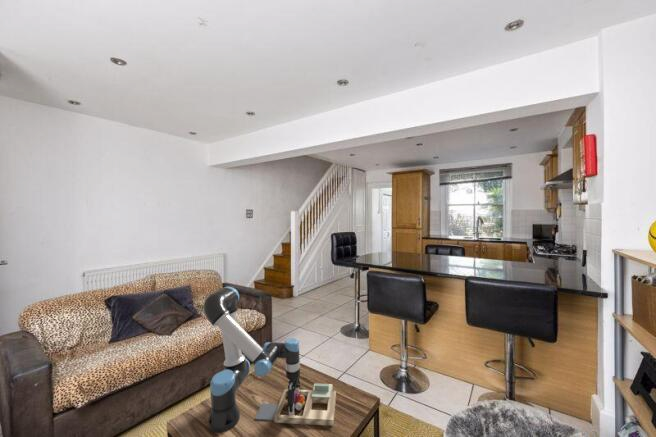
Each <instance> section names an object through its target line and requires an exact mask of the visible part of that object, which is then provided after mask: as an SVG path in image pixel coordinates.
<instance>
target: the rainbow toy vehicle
mask: <svg viewBox="0 0 656 437" xmlns="http://www.w3.org/2000/svg"><path fill="white" fill-rule="evenodd" d="M300 394H301V393H299V394H298V396H297V393H296V392H294V402H293V404H294V409H295V410H297V411H301V410H302V409H303V407H305V405H306V398H305V397H304V396H303V395H300ZM287 409H289V407H287Z"/></svg>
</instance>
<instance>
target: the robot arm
mask: <svg viewBox="0 0 656 437" xmlns="http://www.w3.org/2000/svg"><path fill="white" fill-rule="evenodd" d="M239 301H240V294H239V291H238V290H237V289H236V288H234V287H233V286H225V287H222V288H220V289H219V290H217V291H214V292H213V293H211V294H209V295H208V296H207V297H206V299H204V302H203V308H202V309H203V313H204V315H205V317H206V319H207V320H208V321H209V323H210V324H211V325H212V326H213V327H218V329H219V330H220V332H221V338H222V344H223V350H224V357H225V360H224V361H223V369H222V370H221V371H218V372H217V373H215V374H214V375H213V376H212V378H211V380H210V385H209V386H210V387H209V390H210V405H211V410H210V413H209V417H208V420H207V422H208V425H207V426H208V429H209V430H210V431H212V432H214V433H223V432H227V431H229V430H231V429H232V428H234V427H235V426H236V425H237V424H238V423H239V421H240V418H241V414H240V413H241V412H240V409H239V406H238V404H237V399H236V398H237V397H236V392H237V391H238V389H239V388H240V387H241V385H242V384H243V383H244V381H245V380H247V378H248V376H249V374H250V372H251V363H252V364H253V365H254V366H253V370H254V372H255V374H256V375H257V376H259V377H265V376H267V375H268V374H269V372H270V371H271V370H272V368H273V366H274V365H275V363H276V362H277V360H278V359H285V377H286V378H287V379H288V385H287V389H288V396H287V404H286V407H287V408H288V407H289V408H288V415H294V416H295V408H294V404H293V402H294V392H296V393H297V396H298V394H299V390H300V388H301V384H300V383H301V381H300V376H301V368H300V367H301V364H302V363H301V362H300V358H301V357H300V342H299V340H298V339H297V338H293V337H292V338H287V339H286V340H285V342H275V341H271V342H270V341H268V342H267V341H266V342H265V343H264V344H263V346H261V345H260V344H258V342H257V341H256V340H255V339H254V338H253V337H252V336H251V335H250V334H249V333H248V332H247V331H246V330H245V329H244V328H243V327H242V325H241V324H239V323H238V322H237V316H236V313H237V312H238V310H239V309H238V303H239ZM246 357H247V358H248V359H247V358H246ZM250 362H251V363H250Z"/></svg>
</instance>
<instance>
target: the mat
mask: <svg viewBox="0 0 656 437" xmlns="http://www.w3.org/2000/svg"><path fill="white" fill-rule="evenodd" d="M278 405H279V403H264V402H263V403H261V404H260V406H259V409H258V411H257V413H256V415H255V417H254V421H266V422H267V421H269V422H271V421H272V422H274V415H275V412H276V410H277V407H278Z"/></svg>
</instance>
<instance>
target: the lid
mask: <svg viewBox="0 0 656 437" xmlns="http://www.w3.org/2000/svg"><path fill="white" fill-rule="evenodd" d="M331 384H332V383H313V386H314V388H312V390H313V393H312V397H314V398H330V392H331Z"/></svg>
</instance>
